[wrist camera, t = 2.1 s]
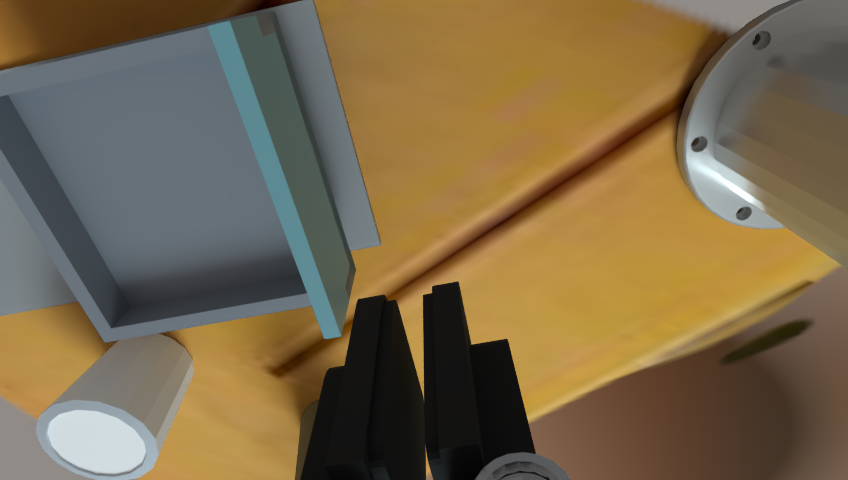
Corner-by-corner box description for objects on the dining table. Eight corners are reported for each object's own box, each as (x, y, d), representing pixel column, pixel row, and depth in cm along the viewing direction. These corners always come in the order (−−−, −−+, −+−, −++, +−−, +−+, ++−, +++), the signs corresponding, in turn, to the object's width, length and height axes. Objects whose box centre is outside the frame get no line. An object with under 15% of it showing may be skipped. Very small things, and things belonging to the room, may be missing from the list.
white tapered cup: (81, 346, 34) (7, 427, 28) (158, 308, 33) (97, 384, 27) (149, 410, 37) (95, 496, 31) (223, 378, 36) (182, 461, 30)
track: (312, -2, 24) (298, 0, 22) (380, 243, 31) (376, 270, 28) (-185, 113, 27) (-256, 129, 24) (-27, 319, 33) (-68, 350, 30)
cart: (287, 8, 24) (229, 20, 17) (360, 249, 30) (341, 336, 23) (32, 67, 25) (-129, 103, 18) (152, 287, 32) (69, 382, 24)
